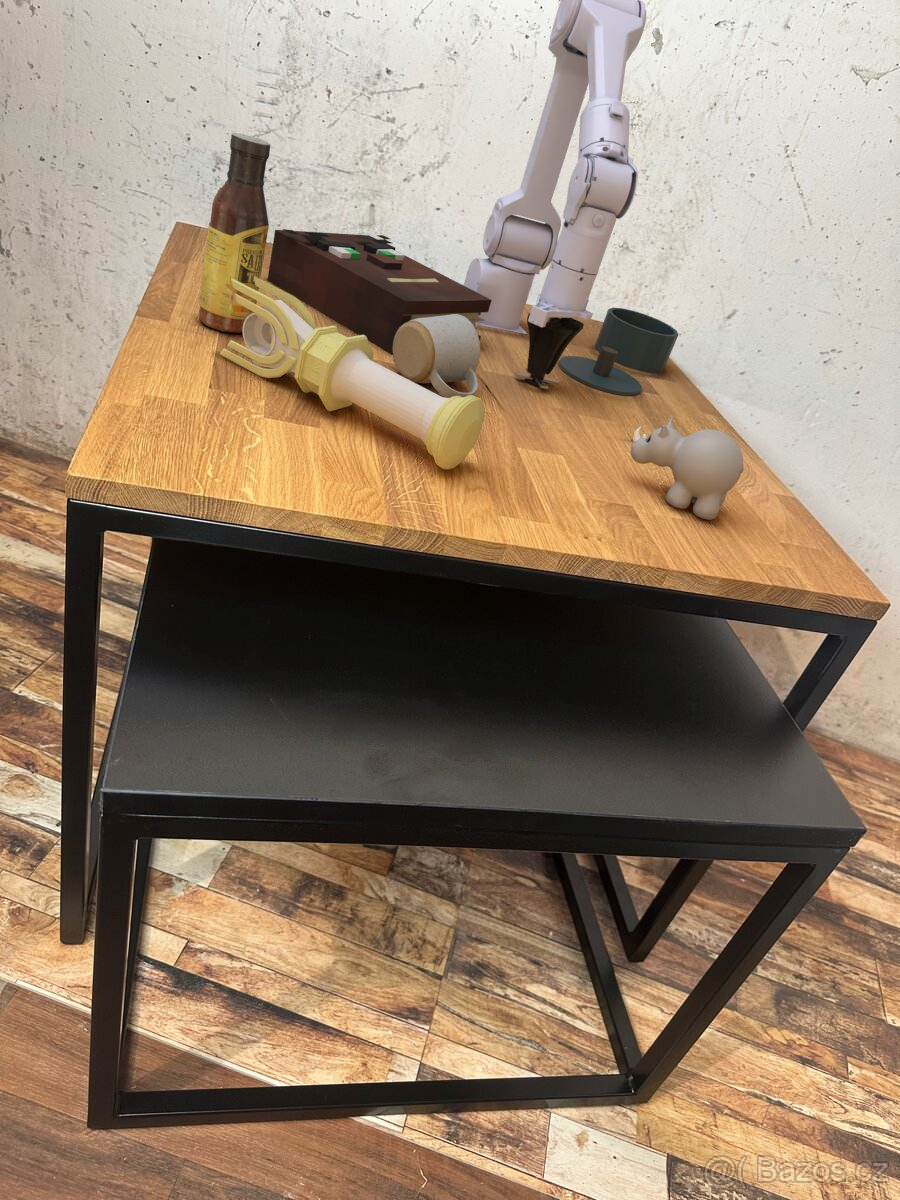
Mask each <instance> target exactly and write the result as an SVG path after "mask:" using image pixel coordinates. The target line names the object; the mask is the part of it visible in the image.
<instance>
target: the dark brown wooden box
mask: <svg viewBox="0 0 900 1200" xmlns="http://www.w3.org/2000/svg"><path fill="white" fill-rule="evenodd" d="M376 237H378V238H379V239H378V238H375V237H374V236H371V235H367V234H354V233H337V232H322V231H321V232H319V231H304V230H294V229H285V228H282V229H275V230H274V235H273V241H272V247H271V254H270V261H269V267H268V273H267V279H266V280H267V281H268V282H270V284H271V283H272V285H274V286H275V287H277V288H279V289H281V290H283V291H285V292H287V293H289V294H291V295H292V296H294V297H296V298H297V299H298V300H299V301H301V302H302V303H305V304H307V305H308V306H310V307H312V308H313V309H314V310H316V311H318V312H320V313H322V314H324V315H325V316H327V317H328V318H331V319H332V320H333V321H335V322H337V323H339V324H340V325H342V326H344V327H345V328H347V329H348V330H350V331H352V332H354V333H356V334H357V335H358V336H359V335H365V336H366V337H367V339H368V342H370V343H372V344H374V345H376V346H377V347H379V348H381V349H382V350H384V351H386V352H388V353H389V354H390V355H393V341H394V337H395V334H396V332H397V331H398V329H399V328H400V327H401V326H402V325H403V324H404V323H406V322H408V321H411V320H414V319H417V318H426V317H435V316H444V315H451V314H459V315H462V316H464V317H466V318H467V319H468V320H469V321H470V322H471V323H472V324H473V326H474V328H475V329H476V325H477V324H476V321H486V320H484V319H482V318H480V317H478V314H479V313H481V312H488V311H489V307H490V304H491V301H492V300H491V299H489V298H487V297H485V296H483V295H481V294H479V293H477V292H475V291H473V290H471V289H469V288H467V287H466V286H464V284H462V283H460V282H458V281H456V280H454V279H453V278H450V277H448V276H446V275H444V274H442V273H440V272H438V271H436V270H434V269H432V268H430V267H429V266H427V265H425V264H422V263H421V262H419V261H418V260H415V259H413V258H411V257H409V256H407V255H405V254H403V253H401V252H399V251H398V250H396V249H397V248H396V247H395V246H393V245H392V244H393V242H391V241H390V240H391V238H390V237H388V236H386V235H383V234H379V235H378V234H376ZM478 337H479V342H480V341H481V338H482V336H481V335H479V334H478Z"/></svg>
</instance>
